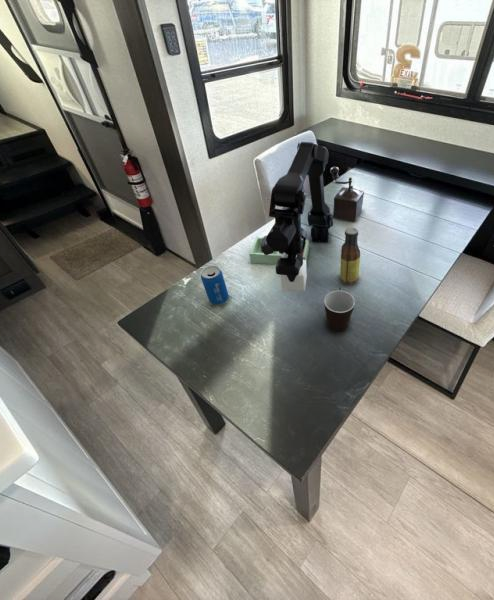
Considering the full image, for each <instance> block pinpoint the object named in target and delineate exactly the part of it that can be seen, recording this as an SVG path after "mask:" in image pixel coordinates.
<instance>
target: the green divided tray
mask: <svg viewBox="0 0 494 600" xmlns="http://www.w3.org/2000/svg"><path fill="white" fill-rule="evenodd" d="M263 237H264V236H263ZM263 237H262V236H256V237H255V239H254V242H253V244H252V246H251V249H250V251H249V260H250V263H251V264H265V265H266V264H269V265H276V264H277V261H278V259H280V258H282V255H283V253H279V252H277V251H275V252H273V254H269V255H265V254H264V253H263V252H261V242H262V239H263ZM309 249H310V241H309V239H306V243H305V247H304V250H303V252H302V254H303V260H306V261H307V260H308V254H309Z"/></svg>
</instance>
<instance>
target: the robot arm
mask: <svg viewBox="0 0 494 600" xmlns="http://www.w3.org/2000/svg"><path fill="white" fill-rule="evenodd" d="M329 158H330V154H329V150H328V149H327V147H326V146H321V145H318V143H315V142H312V141H300V142H298V143H297V146H296V153H295V155H294V156H293V159H292V161H291V164H290V166H289V168H288V170H287V172H286V174H284V175H282V176H281V177H279V178H278V180H277V181H276V182H275V184H274V186H273V187H272V188H271V192H270V193H271V194H270V203H269V210H268V217H269V218H274V224H273V225H272V227H271V229H269V232H268V233H267V235H264V236H263V239H262V242H261V252H263V253H264V254H265V255H269V254H273V252H275V251H277V252H279V253H284V252H285V254H288V258H280V259H278V261H277V264H275V274H276V275H278V276H280V275H287V277H288V279H289V281H290V282H294V280H295V278H296V276H297V275H299V271H300V266H301V265H300V261H299V260H298V259H296V258H297V254H298V253H302V252H303V250H304V247H305V243H306V240H307V237H308V232H307V230H306V229H305V228H303V227H302V215H304V211H305V205H306V200H307V195H306V191H305V189H304V187H305V186H304V183H305V181H306V179H307V177H308V185H309V192H310V193H309V194H310V202H311V205H310V208H309V211H308V212H307V223H308V227H310V238H311V242H313V243H328V242H329V236H330V229H331V228H332V227H333V226H334V217H333V215H332V213H331V210H330V208H331V207H329V206H328V205H327V203H326V201H325V188H324V173H325V169H326V167H327V164H329ZM276 207H278V208H276ZM279 207H281V209H280V208H279Z"/></svg>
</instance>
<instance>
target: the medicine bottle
mask: <svg viewBox="0 0 494 600" xmlns="http://www.w3.org/2000/svg"><path fill="white" fill-rule="evenodd" d="M282 258H288V254H285V252H284V253H283V255H282ZM296 259H298V260H299V261H300V265H301V266H300V271H299V275H297V276H296V278H295V280H294V282H290V281H289V279H288V277H287V275H279V278H280V286H281V291H282V292H295V293H296V292H297V293H299V292H300V293H304V292H305V291H306V285H307V277H308V274H307V273H308V272H307V271H308V270H307V260H303V254H302V253H298V254H297V258H296Z"/></svg>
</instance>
